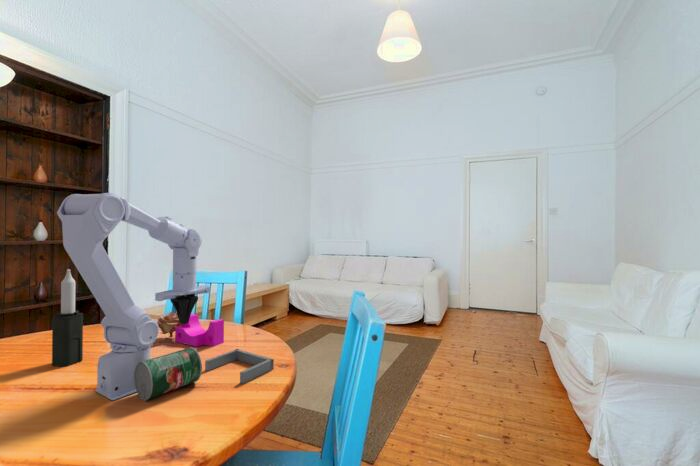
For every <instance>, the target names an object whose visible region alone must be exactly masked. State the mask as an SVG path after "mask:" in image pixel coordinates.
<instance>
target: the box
mask: <svg viewBox="0 0 700 466" xmlns="http://www.w3.org/2000/svg"><path fill="white" fill-rule="evenodd" d="M236 360H237V361H240V362H243V363H246V364H250V365H252V366H250V367H249V368H246V369H244V370H242V371H240V372H239V383H240V384H245V383H247V382H249V381H252V380H253V379H256V378H258V377H260V376H262V375H263V374H264V375H265V374H266V373H268V372H270V371H272V370H274V367H275V366H274V365H275V363H274V362H275V360H274V358H271V357H267V356H263V355H260V354H256V353H252V352H249V351H245V350H243V349H239V348H236V349H234V350H230V351H227V352H224V353H222V354H219V355H217V356H213V357H211V358H208V359H205V360H204V361H205V362H204V371H206V372H209V371H211V370H215V369H216V368H219V367H222V366H224V365H227V364H229V363H232V362H234V361H236Z"/></svg>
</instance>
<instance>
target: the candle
mask: <svg viewBox="0 0 700 466" xmlns="http://www.w3.org/2000/svg"><path fill="white" fill-rule="evenodd" d="M60 284H61V285H60V311H59V312H57V313H56V315H53V316H52V334H51V336H52V337H51V338H52V339H51V341H52V343H51V345H52V346H51V347H52V348H51V366H53V367H59V368H65V367H70V366H72V365H74V364H77V363H80V362H82V361H83V355H84V354H83V349H84V346H83V345H84V344H83V343H84V341H83V339H84V337H83V335H84V331H83V329H84V313H83V312H80V310H76V280H75V279H74V278H73V276H72V272H71V269H69V268H67V269H66V273H65V276H64V278H63V280H62V281H61V283H60Z"/></svg>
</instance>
